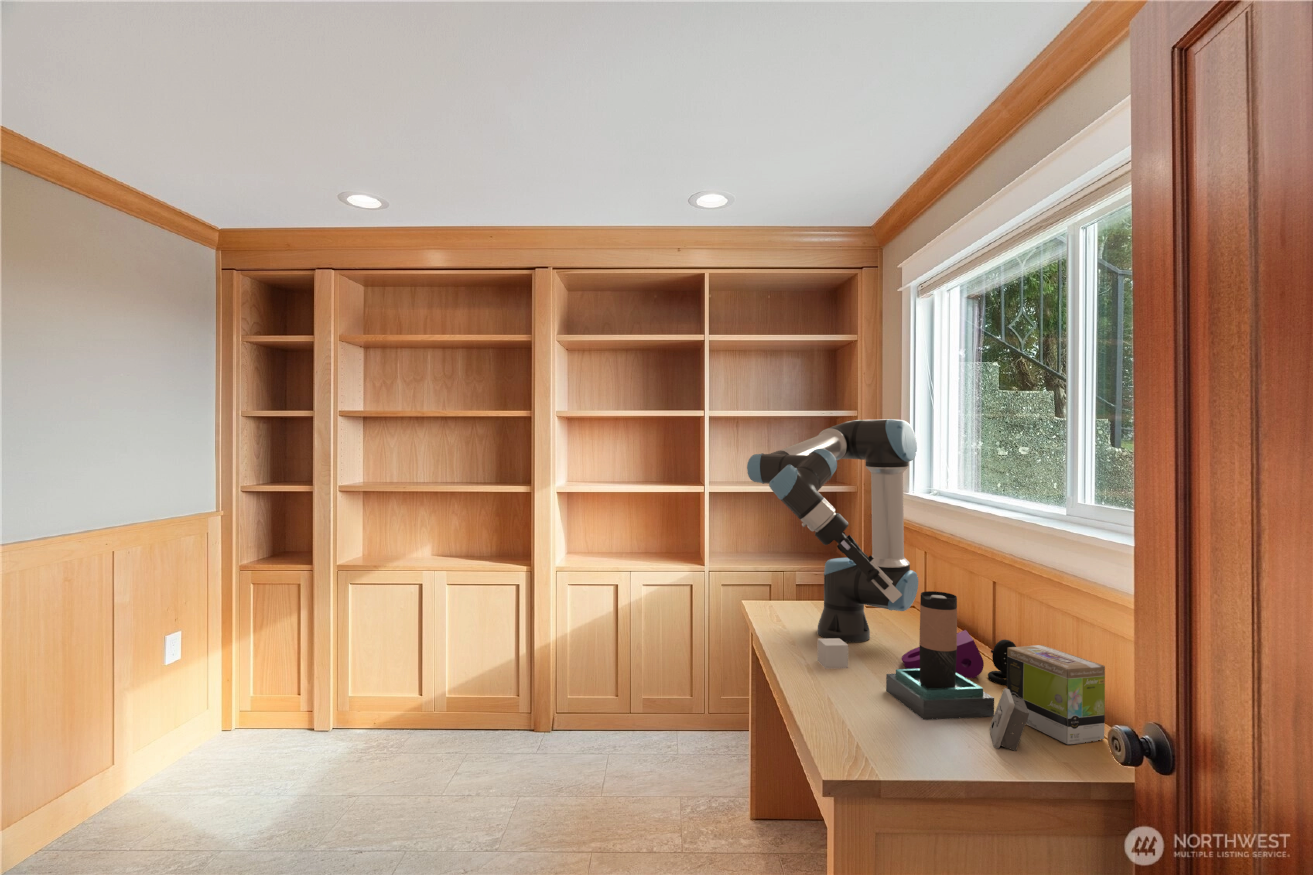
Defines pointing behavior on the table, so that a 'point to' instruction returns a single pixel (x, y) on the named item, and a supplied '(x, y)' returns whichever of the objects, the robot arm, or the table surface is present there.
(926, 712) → the block with teal frame
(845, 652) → the light grey cube
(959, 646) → the mounting bracket
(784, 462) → the robot arm
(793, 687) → the table surface
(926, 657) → the travel mug
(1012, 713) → the electrical switch
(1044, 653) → the tea box
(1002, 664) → the webcam
